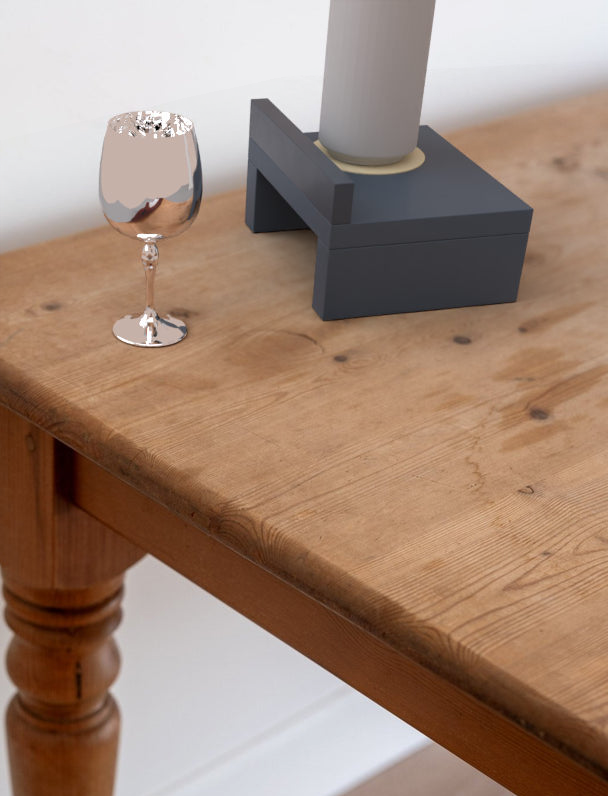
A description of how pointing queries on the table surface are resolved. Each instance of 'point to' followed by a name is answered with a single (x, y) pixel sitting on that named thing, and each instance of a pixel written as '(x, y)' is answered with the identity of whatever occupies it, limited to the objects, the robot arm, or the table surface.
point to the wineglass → (150, 202)
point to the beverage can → (374, 79)
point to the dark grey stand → (387, 221)
